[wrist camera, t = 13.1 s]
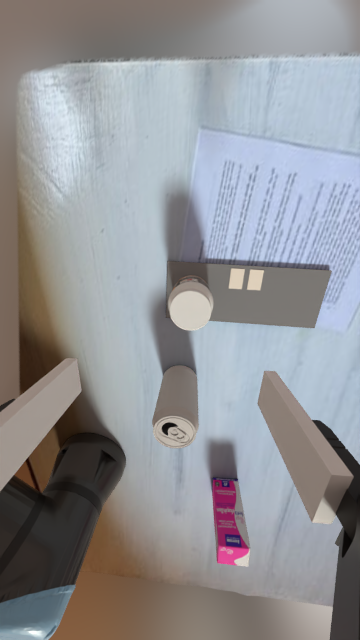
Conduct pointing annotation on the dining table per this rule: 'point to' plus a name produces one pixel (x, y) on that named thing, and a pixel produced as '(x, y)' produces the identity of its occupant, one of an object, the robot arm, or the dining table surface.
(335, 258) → the dining table surface
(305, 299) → the slate board
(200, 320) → the pill bottle
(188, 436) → the beverage can
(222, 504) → the supplement box
